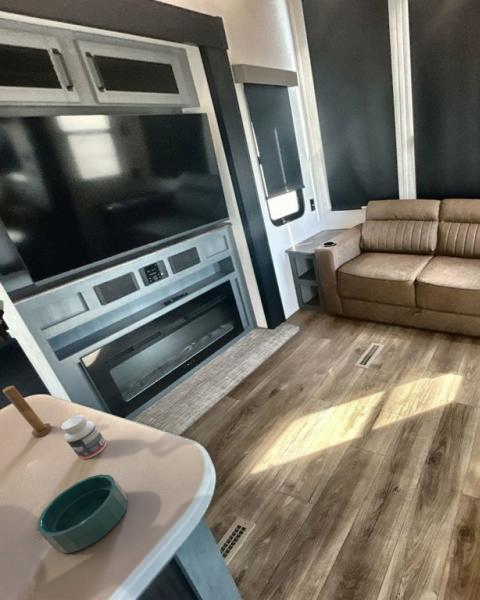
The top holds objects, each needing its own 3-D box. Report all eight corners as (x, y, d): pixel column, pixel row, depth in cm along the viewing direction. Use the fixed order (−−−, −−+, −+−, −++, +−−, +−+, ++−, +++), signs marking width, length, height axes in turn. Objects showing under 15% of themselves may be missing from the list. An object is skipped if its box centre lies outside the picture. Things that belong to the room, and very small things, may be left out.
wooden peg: (30, 436, 89) (-7, 392, 82) (46, 425, 92) (12, 382, 85) (39, 438, 87) (3, 394, 81) (55, 427, 90) (22, 384, 84)
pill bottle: (73, 457, 81) (51, 428, 77) (97, 438, 85) (77, 410, 81) (89, 461, 79) (67, 433, 75) (112, 442, 83) (92, 414, 79)
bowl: (39, 545, 64) (21, 526, 61) (103, 486, 73) (89, 468, 70) (82, 563, 60) (64, 544, 57) (143, 499, 69) (129, 481, 67)
